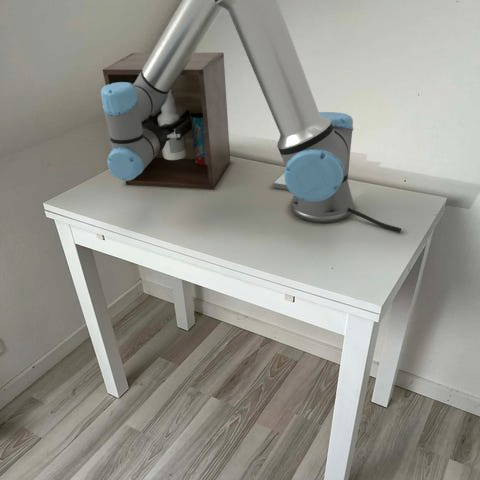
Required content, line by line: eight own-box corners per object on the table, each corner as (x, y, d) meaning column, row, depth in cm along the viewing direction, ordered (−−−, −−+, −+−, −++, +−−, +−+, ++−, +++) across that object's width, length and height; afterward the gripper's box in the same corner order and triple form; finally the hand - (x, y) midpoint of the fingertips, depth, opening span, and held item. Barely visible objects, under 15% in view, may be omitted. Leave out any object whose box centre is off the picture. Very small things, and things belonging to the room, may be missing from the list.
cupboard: (213, 189, 136) (203, 69, 117) (126, 184, 141) (102, 69, 122) (230, 163, 150) (223, 52, 131) (150, 159, 156) (132, 53, 136)
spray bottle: (183, 160, 137) (174, 92, 126) (160, 160, 139) (149, 92, 127) (189, 152, 143) (181, 85, 131) (167, 151, 144) (157, 85, 132)
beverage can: (199, 160, 153) (193, 110, 143) (217, 160, 151) (213, 110, 142) (193, 167, 148) (187, 116, 139) (212, 168, 147) (207, 116, 138)
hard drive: (273, 188, 135) (289, 171, 143) (301, 192, 132) (316, 174, 140) (273, 182, 133) (289, 165, 142) (301, 186, 130) (316, 169, 139)
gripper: (112, 156, 125) (145, 127, 142) (186, 159, 121) (210, 129, 138) (106, 127, 121) (141, 100, 138) (182, 128, 117) (208, 101, 134)
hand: (176, 114), depth 138 cm, fingers closed on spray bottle, 7 cm apart
